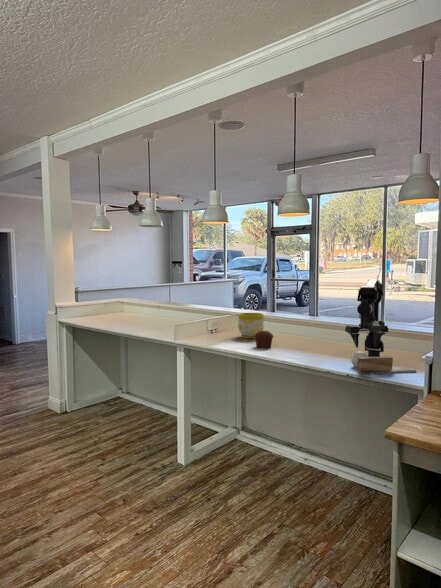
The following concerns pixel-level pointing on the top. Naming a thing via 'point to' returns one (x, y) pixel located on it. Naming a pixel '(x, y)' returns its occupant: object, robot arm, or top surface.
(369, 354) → the robot arm
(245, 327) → the flowerpot
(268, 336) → the muffin
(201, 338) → the top surface
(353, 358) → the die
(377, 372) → the rail
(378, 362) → the wooden block
